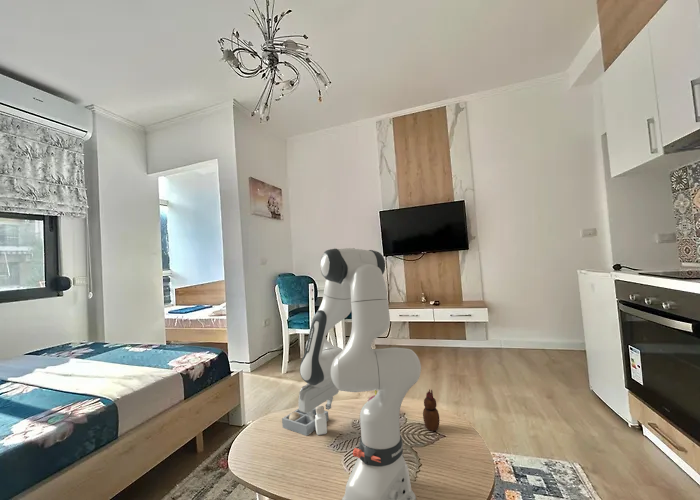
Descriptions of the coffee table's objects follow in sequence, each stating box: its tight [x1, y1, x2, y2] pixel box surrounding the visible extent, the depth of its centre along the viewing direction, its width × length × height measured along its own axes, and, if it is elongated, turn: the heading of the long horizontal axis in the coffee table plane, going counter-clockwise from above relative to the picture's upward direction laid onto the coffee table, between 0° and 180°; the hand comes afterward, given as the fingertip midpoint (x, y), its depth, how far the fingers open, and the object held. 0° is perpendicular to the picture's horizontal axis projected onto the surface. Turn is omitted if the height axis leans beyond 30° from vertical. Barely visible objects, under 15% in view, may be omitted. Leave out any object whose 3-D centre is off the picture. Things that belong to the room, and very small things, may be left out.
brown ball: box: [289, 411, 300, 421], centre depth 130 cm, size 5×5×5 cm
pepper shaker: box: [315, 405, 328, 436], centre depth 123 cm, size 4×4×10 cm
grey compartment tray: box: [281, 408, 329, 437], centre depth 130 cm, size 13×13×4 cm
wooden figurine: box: [422, 389, 441, 431], centre depth 121 cm, size 7×6×15 cm
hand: (320, 414), depth 124 cm, fingers open, 8 cm apart
